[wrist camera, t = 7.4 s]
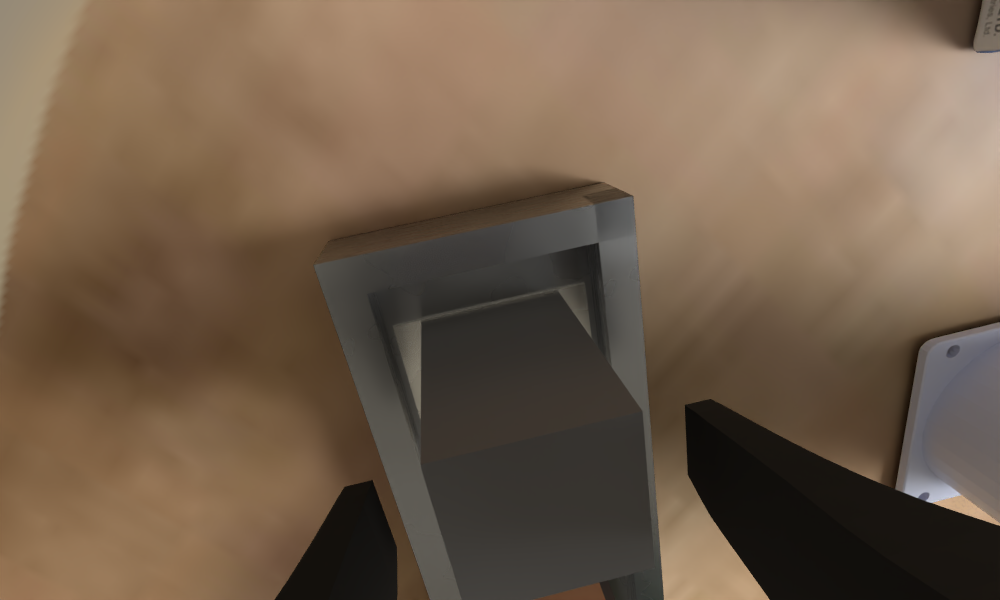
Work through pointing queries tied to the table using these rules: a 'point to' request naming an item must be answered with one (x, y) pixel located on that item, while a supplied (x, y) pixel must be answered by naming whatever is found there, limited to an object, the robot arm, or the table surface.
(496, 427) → the grey square block
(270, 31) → the table surface
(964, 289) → the table surface
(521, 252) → the rail
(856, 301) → the table surface
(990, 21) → the ink cartridge box
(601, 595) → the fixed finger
